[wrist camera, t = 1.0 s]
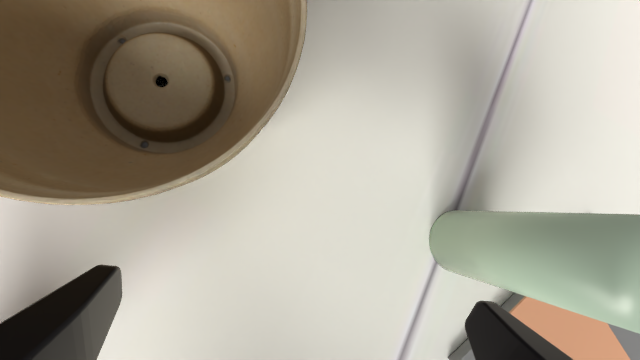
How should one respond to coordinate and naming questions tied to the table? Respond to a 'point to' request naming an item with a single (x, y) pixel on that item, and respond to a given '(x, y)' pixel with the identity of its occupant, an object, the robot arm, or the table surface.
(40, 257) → the table surface
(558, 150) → the table surface
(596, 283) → the green cylinder
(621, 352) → the grey orange flat block
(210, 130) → the planter bowl
